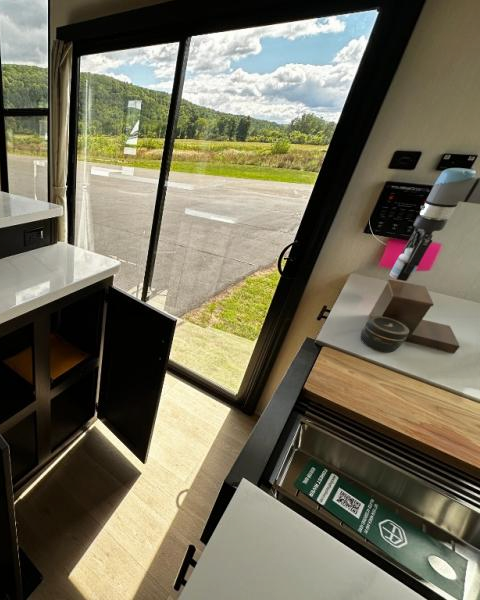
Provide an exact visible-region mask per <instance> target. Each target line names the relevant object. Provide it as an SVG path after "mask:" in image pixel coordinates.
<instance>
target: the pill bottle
mask: <svg viewBox="0 0 480 600" xmlns="http://www.w3.org/2000/svg"><path fill="white" fill-rule="evenodd" d="M412 249H413V248H406V249H405V251H404V253H403V252H402V253H401V254H399V256H398V257H397V260H396V261H395V263H394V265H393V266H392V269H391V270H390V272H389V276H390V277H392V278H393V279H395V280H397V279H396V278H397V277H398V275H399V273H400V271H401V269H402V268H403V266H404V262H405V263H406V262H407V261H408V259H409V256H410V254H411V252H412ZM418 267H419V265H418V266H415V267H414V269H413V270H412V272H411V274H410V275H409V277H408V279H407V281H409V280H411V279H412V278H413V276H414V274H415V272H416V271H417V269H418Z"/></svg>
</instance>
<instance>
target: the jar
mask: <svg viewBox="0 0 480 600" xmlns="http://www.w3.org/2000/svg"><path fill="white" fill-rule="evenodd" d="M408 334H409V329H408V328H407V326H405V325H404V324H403V323H401V322H399V321H397V320H394V319H391V318H388V317H383V316H373V317H371V318H370V317H368V319H367V321H366V323H365V325H364V327H363V328H362V330H361V331H360V336H359V337H360V340H361V342H362V341H363V342H364V343H363V342H362V343H363V344H364V345H365V346H367V347H369V348H370V349H373V350H375V351H378V352H384V353H391V352H394V351H396V350H398V349H399V348H400V347H401V346H402V344H403V342H405V341H404V340H405V339H406V338H407V336H408Z"/></svg>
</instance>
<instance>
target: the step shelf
mask: <svg viewBox="0 0 480 600" xmlns="http://www.w3.org/2000/svg"><path fill="white" fill-rule="evenodd" d="M386 281H387V283H386V285H385V286H384V288H383V290H382V291H381V293H380V295H379V297H378V299H377V301H376V302H375V304H374V306H373V308H372V309H371V311H370V313H369V314H368V316H369V317H368V318H371V317H373V316H383V317H388V318H391V319H394V320H397V321H399V322H401V323H403V324H404V325H405V326H407V328H408V329H409V334H408V336H407V338H406V339H405V340H404V341H403V342H408V343H410V344H411V343H412V344H416V345H420V346H423V347H426V348H427V347H428V348H431V349H435V350H439V351H443V352H447V353H451V354H456V352H457V351H458V349H459V348H460V347H461V345H460V343H459V341H458V339H457V336H456V335H455V333H454V331H453V329H452V327H451V325H449V324H444V323H439V322H436V321H431V320H427V319H424V318H425V316H426V314H427V313H428V312H429V310H430V308H432V307H433V306H434V305H435V303H434V302H433V298H432V297H431V295H430V293H429V290H428V288H427V286H425V285H420V284H415V283H410V282H406V281H400V280H394V279H387V280H386Z"/></svg>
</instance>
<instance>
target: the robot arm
mask: <svg viewBox="0 0 480 600" xmlns="http://www.w3.org/2000/svg"><path fill="white" fill-rule="evenodd" d="M476 174H477V171H476V170H474V169H470V168H462V167H450V168H446V169H444V170H442V171H441V173H440V175H439V176H438V178H437V179H436V181H435V183H434V184H433V186H432V188H431V191H430V193H429V194H428V196H427V198H426V200H425V203H424V204H423V205H421V206H420V211H419V215H417V216H416V219H415V220H414V222H413V225H412V226H413V227H414V229H413V232H412V234H411V235H410V237H409V239H408V241H407V243H406V245H405V246H404V248H403V250H402V254H403V253H404V251H405V249H406V248H413V249H412V252H411V254H410V256H409V259H408V261H407V262H406V263H405V262H404V266H403V268H402V269H401V271H400V273H399V275H398V277H397V278H396V279H395V280H396V281H401V282H407V281H408V280H407V279H408V277H409V275H410V274H411V272H412V270H413V269H414V267H415V266H418V267H419V265H420V264H421V261H422V260H423V258H424V256H425V254H426V252H427V250H428V248H429V247H430V245H431V244H432V243H433V239H432V238H433V236H434V235H433V232H439V231H442V230H444V228H445V226H446V224H447V223H448V221H449V220H448V219H450V218H451V217H452V215H453V213H454V212H455V210H456V208H457V206H458V204H459V203H460V202H461V203H468V204H476V205H480V177H477V176H476Z"/></svg>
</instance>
